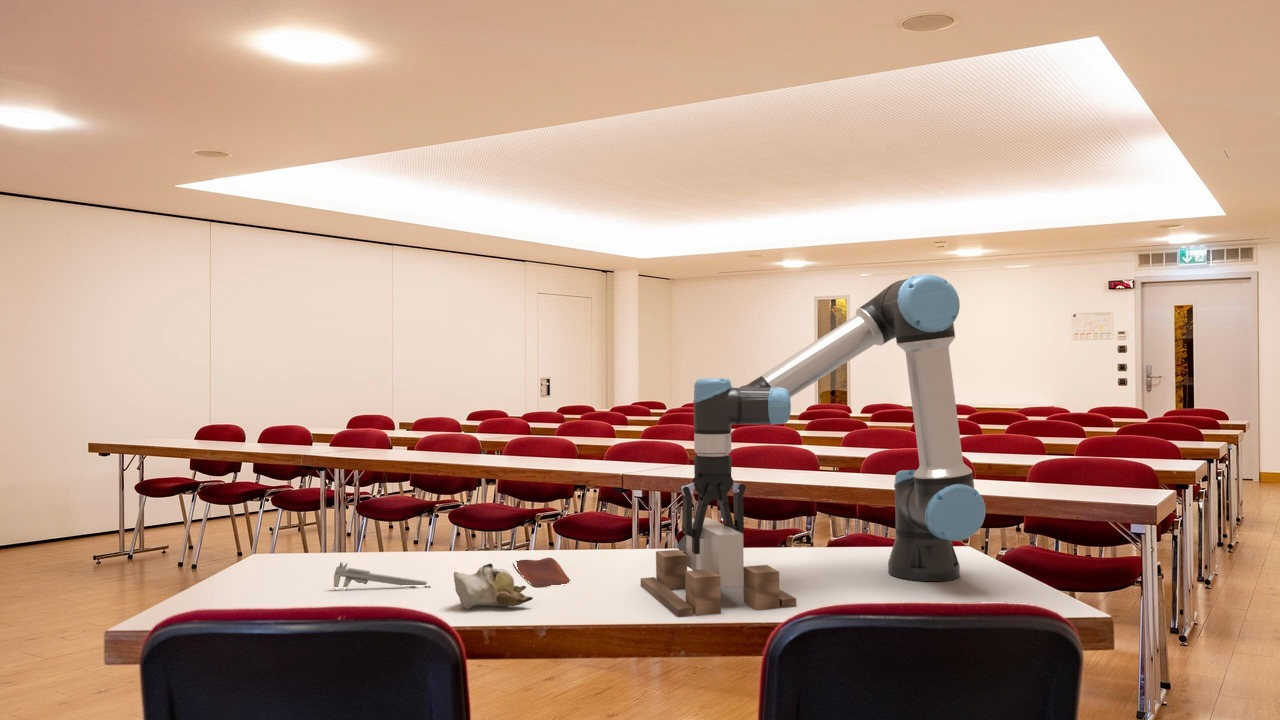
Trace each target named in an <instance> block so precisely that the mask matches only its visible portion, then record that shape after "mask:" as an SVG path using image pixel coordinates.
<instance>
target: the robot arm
mask: <svg viewBox="0 0 1280 720" xmlns="http://www.w3.org/2000/svg"><path fill="white" fill-rule="evenodd" d="M960 308H961V307H960V298H959V295H958V292H957V290H956V289H955V287H954V286H953V285H952V284H951V283H950V282H949V281H947V280H946V279H945V278H943V277H941V276H938V275H934V274H918V275H915V276H911V277H909V278H905V279H902V280H897V281H895V282H893V283H891V284H890V285H889V286H886V287H885V288H884V289H883V290H881V291H880V292H879V293H878V294H877V295H875V296H874V297H873V298H871V299H870V300H868V301H867V302H866V303H864V304H863V305H861V306H860V307H858V308H857V309H856V311H855V315H854V316H853V317H851V318H850V319H848V320H846V321H845V322H843V323H842V324H840V325H838V326H837V327H835V328H834V329H833V330H830V331H829V332H827V333H826V334H825V335H822V336H821V337H819V338H818V339H816V340H815V341H813V342H812V343H810V344H809V345H807V346H805V347H804V348H803V349H801V350H799V351H798V352H796V353H795V354H793V355H792V356H790V357H788V358H787V359H785V360H784V361H782V362H780V363H779V364H777V365H776V366H774V367H772V368H771V369H770V370H768V371H766V372H765V373H763V374H762V375H760V376H759V377H757V378H755V379H754V380H752V381H750V382H749V383H748V384H745V385H742V386H739V387H733V385H732V382H731V380H730V379H729V378H724V377H723V378H719V377H718V378H714V377H713V378H698V379H697V380H695V382H694V386H693V387H694V389H693V390H694V391H693V427H694V428H693V430H694V431H693V434H694V435H693V437H694V438H693V439H694V440H693V444H694V446H693V447H694V448H693V449H694V451H693V452H694V453H695V454H696V455H695V456H694V458H693V461H694V463H693V466H694V468H693V469H694V471H693V472H694V473H693V474H694V477H693V479H692V482H691V483H689V484H687V485H681V486H679V491H680V493H681V495H682V533H683V534H684V535H688V536H691V537H692V552H693V553H694V554H696V569H698V570H704V539H703V538H702V537H700V536H701V532H702V527H703V523H704V519H705V518H706V514H707V510H708V506H709V505H710V502H711V501H712V502H713V501H715V500H716V501H717V504H718V507H719V510H720V513H721V518H722V521H723V525H725V526H727V527H730V528H732V529H734V530H736V531H738V532H740V533H742V534H743V533H744V531H745V527H744V526H745V519H744V518H745V516H744V494H745V491H746V489H747V486H746V485H745V484H744V483H740V482H735V481H734V478H733V476H732V456H731V455H730V453H731V452H732V425H736V426H737V425H771V426H774V425H784V424H786V423H788V422H789V420H790V416H791V412H792V411H791V410H792V406H791V405H792V403H791V398H792V397H794V396H795V395H797V394H799V393H801V392H802V391H803V390H805V389H807V388H808V387H810V386H811V385H813V384H815V383H816V382H818V381H819V380H821V379H823V378H824V377H825V376H827V375H829V374H831V373H832V372H834V371H835V370H836V369H839V367H841V366H843V365H844V364H846V363H848V362H849V361H850V360H853V358H855V357H857V356H859V355H860V354H862V353H863V352H865V351H867V350H868V349H870V348H871V347H872V346H874V345H876V346H880V347H881V346H883V345H885V344H886V343H888V342H889V341H892V340H893V339H895V340H896V341H895V342H896V345H897V346H898V347H899V348H900V349H901V350H903V351H904V353H905V360H906V368H907V374H908V382H909V383H908V384H909V390H910V398H911V408H912V413H913V414H912V416H913V422H914V423H913V424H914V430H915V432H914V433H915V438H916V448H917V455H918V462H919V466H918V468H917V469H907V470H905V469H903V470H899V471H897V472H896V474H895V476H894V478H895V480H894V485H893V487H894V502H895V503H894V506H895V507H894V508H895V509H894V510H895V539H894V542H893V546H892V549H891V552H890V555H889V559H888V562H887V572H888V574H889V575H891V576H893V577H896V578H900V579H905V580H910V581H920V582H921V581H922V582H942V581H943V582H944V581H952V580H955V579H958V578H959V577H960V576H961V571H960V570H961V568H960V562H959V560H958V557H957V554H956V551H955V548H954V545H953V541H954V542H957V541H964V540H966V539H969V538H970V537H972V536H974V535H975V534H976V533H977V532H978V531H979V530H980V529H981V528H982V526H983V524H984V522H985V521H984V520H985V518H986V503H985V501H984V498H983V497H982V495H981V494H980V493H979V491H978V490H976V489H975V482H974V475H973V470H972V469H971V467H969V466H968V465H967V464H965V463H964V460H963V452H962V443H961V442H962V441H961V435H960V427H959V419H958V412H957V403H956V402H957V401H956V395H955V389H954V379H953V371H952V365H951V357H950V349H949V348H950V345H951V344H952V342H953V341H954V340H955V339H956V333H955V324H954V323H955V321H956V319H957V318H958V315H959V312H960ZM731 489H732V492H733V517H732V513H731V510H730V505H729V498H728V493H730V491H731ZM694 490H695V491H696V492H697V494H698V499H697V505H696V506H697V507H696V510H695V515H694V518H695V519H694V523H693V527H692V519H693V494H694Z"/></svg>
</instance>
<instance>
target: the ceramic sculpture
mask: <svg viewBox="0 0 1280 720" xmlns="http://www.w3.org/2000/svg"><path fill="white" fill-rule="evenodd" d="M453 581H454V587H455V589H454V590H455V592H456V595H457V597H459V598H458V599H459V602H460V605H461V606H462V608H464V607H465V608H464V609H466V608H467V610H468V609H471V608H472V607H474V606H475V605H482V606H486V607H489V606H499V607H502V606H501V605H503V606H506V607H507V606H508V607H515V606H520V605H522V604H524V603H527V602H530V601H532V600H533V596H527V595H524V594H523V593H522V592H523V591H525V589H527V586H526V585H521V586H519V585H515V581H514V577H513V576H512V575H511V573H510V572H508V570H505V569H504V568H494V566H493V563H487V564H484V565H483V566H481V567H479V569H478V570H477V571H476V573H473V574H467V573H464V572H458V571H454V572H453Z"/></svg>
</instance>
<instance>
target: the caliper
mask: <svg viewBox="0 0 1280 720" xmlns="http://www.w3.org/2000/svg"><path fill="white" fill-rule="evenodd" d="M347 566H348V562H346V563H345V564H344V563H343V561H340V563H339V566H336V568H335V571H334V575H333V588H334V587H338V588H339V584H340V580H341V578H342V577H343V578H345V579H344V582H343V586H342V588H343V587H347V586H348V587H349V585H350V584H351V582H352V581H354V582H356V583H357V584H361V583H362V584H364V585H367V583H368V581H369V582H375V583H382V584H388V585H389V584H390V585H395V586H396V585H397V586H402V585H426V584H428V581H426V580H419V579H414V578H413V579H412V578H407V577H400V576H393V575H387V574H379V573H372V572H370V570H365V569H359V568H353V567H348V568H347ZM348 587H347V588H348Z"/></svg>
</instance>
